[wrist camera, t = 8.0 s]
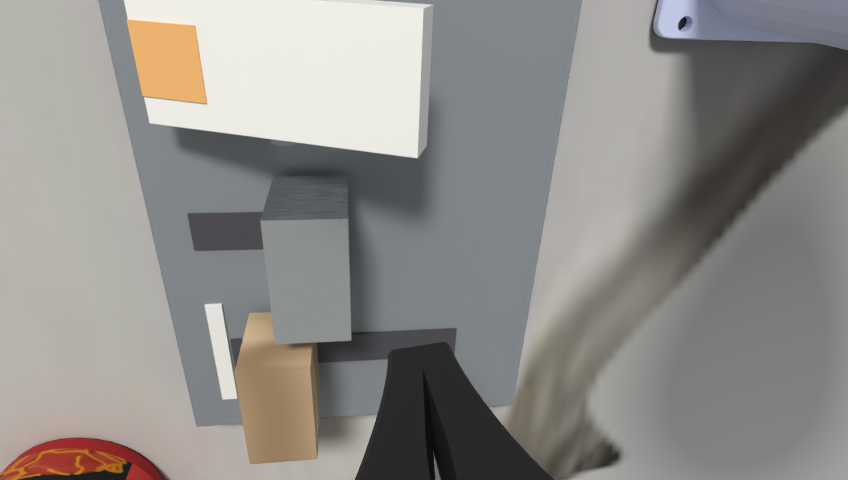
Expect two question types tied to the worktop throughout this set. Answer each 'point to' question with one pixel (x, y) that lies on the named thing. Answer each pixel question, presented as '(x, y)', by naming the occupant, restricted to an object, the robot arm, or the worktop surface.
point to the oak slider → (277, 394)
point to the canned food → (80, 462)
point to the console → (373, 212)
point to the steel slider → (308, 258)
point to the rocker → (288, 69)
